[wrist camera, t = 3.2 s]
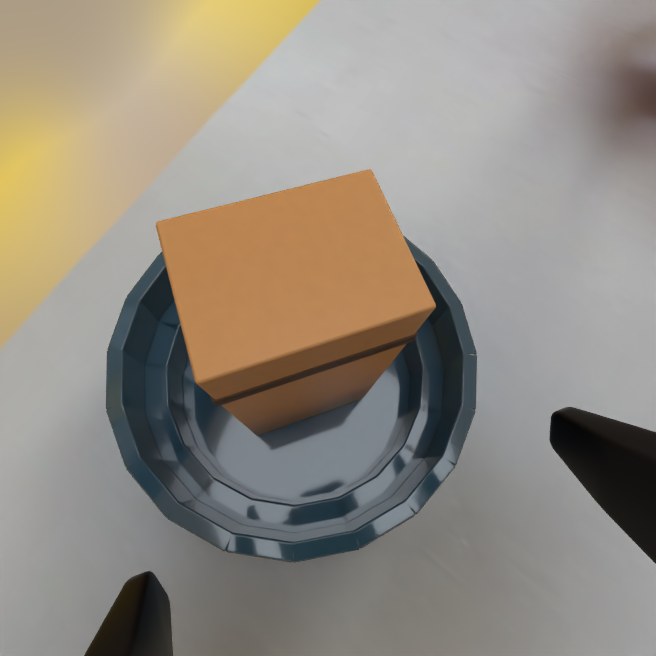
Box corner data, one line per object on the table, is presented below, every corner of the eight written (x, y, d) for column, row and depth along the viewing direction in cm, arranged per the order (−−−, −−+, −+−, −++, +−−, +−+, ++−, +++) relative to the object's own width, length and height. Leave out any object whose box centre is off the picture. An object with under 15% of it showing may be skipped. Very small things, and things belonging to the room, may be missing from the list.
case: (365, 399, 20) (442, 308, 9) (255, 437, 19) (192, 388, 8) (336, 324, 21) (373, 165, 10) (232, 357, 20) (150, 219, 9)
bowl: (365, 596, 18) (391, 647, 12) (95, 445, 19) (19, 434, 14) (470, 328, 22) (521, 285, 17) (248, 223, 24) (234, 154, 19)
